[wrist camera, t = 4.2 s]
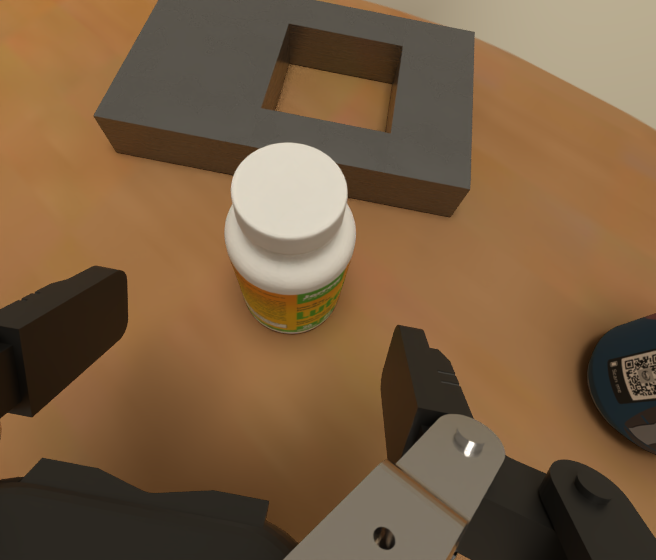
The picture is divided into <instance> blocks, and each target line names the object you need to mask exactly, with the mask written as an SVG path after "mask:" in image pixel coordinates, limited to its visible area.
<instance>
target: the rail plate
mask: <svg viewBox="0 0 656 560" xmlns="http://www.w3.org/2000/svg"><path fill="white" fill-rule="evenodd" d="M474 34H475V32H471V31H466V30H461V29H456V28H452V27H447V26H442V25H436V24H431V23H426V22H421V21H416V20H411V19H406V18H401V17H396V16H391V15H386V14H381V13H376V12H371V11H366V10H361V9H356V8H351V7H346V6H341V5H336V4H331V3H326V2H321V1H316V0H158V2H157V4H156V5H155V7H154V9H153V11H152V13H151V14H150V16H149V18H148V20H147V21H146V23H145V25H144V27H143V29H142V30H141V32H140V34H139V36H138V37H137V39H136V41H135V43H134V45H133V46H132V48H131V50H130V52H129V53H128V55H127V57H126V59H125V61H124V62H123V64H122V66H121V68H120V69H119V71H118V73H117V75H116V77H115V78H114V80H113V82H112V84H111V85H110V87H109V89H108V91H107V93H106V94H105V96H104V98H103V100H102V101H101V103H100V105H99V107H98V109H97V110H96V112H95V114H94V118H95V119H96V121H97V122H98V124H99V126H100V127H101V129H102V130H103V132H104V133H105V135H106V137H107V138H108V140H109V141H110V143H111V145H112V146H113V148H114V149H115V151H116V152H117V153H123V154H128V155H133V156H138V157H143V158H148V159H153V160H159V161H164V162H169V163H174V164H179V165H184V166H189V167H195V168H200V169H205V170H210V171H215V172H220V173H226V174H231V175H234V173H235V171H236V169H237V168H238V166H239V165H240V164H241V162H242V161H243V160H244V159H245V158H246V157H247V156H249V155H250V154H251V153H253V152H254V151H256V150H258V149H260V148H263V147H265V146H268V145H271V144H277V143H298V144H304V145H308V146H311V147H313V148H316V149H318V150H320V151H322V152H323V153H325V154H326V155H328V156H329V157H330V158H331V159H332V160H333V161H334V162H335V163H336V164H337V165H338V167H339V168H340V169H341V171H342V173H343V175H344V177H345V180H346V184H347V190H348V197H349V198H354V199H359V200H365V201H370V202H375V203H380V204H385V205H390V206H395V207H401V208H406V209H411V210H416V211H421V212H426V213H431V214H437V215H442V216H447V217H451V216H452V214H453V213H454V211H455V210H456V209H457V207H458V206H459V204H460V203H461V202H462V200H463V199H464V197H465V196H466V195H467V193H468V192H469V190H470V181H471V144H472V108H473V72H474ZM289 63H290V64H295V65H300V66H305V67H311V68H316V69H321V70H326V71H331V72H336V73H341V74H346V75H351V76H356V77H361V78H366V79H371V80H376V81H381V82H387V83H392V90H391V97H390V104H389V110H388V117H387V124H386V131H385V132H381V131H375V130H370V129H365V128H360V127H355V126H350V125H345V124H340V123H335V122H330V121H324V120H319V119H314V118H309V117H304V116H299V115H294V114H289V113H284V112H279V111H275V108H276V105H277V102H278V99H279V95H280V92H281V89H282V86H283V82H284V79H285V76H286V73H287V70H288V66H289Z"/></svg>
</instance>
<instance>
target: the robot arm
mask: <svg viewBox="0 0 656 560" xmlns="http://www.w3.org/2000/svg"><path fill="white" fill-rule="evenodd" d="M127 323H128V294H127V276H126V274H125V272H123V271H121V270H116V269H111V268H106V267H101V266H92V267H90V268H88V269H87V270H85V271H83V272H81V273H79V274H77V275H75V276H73V277H71V278H69V279H67V280H63V281H59V282H55V283H51V284H49V285H47V286H45V287H43V288H41V289H39V290H37V291H36V292H35V294H33V293H32V294H30V295H28V296H26V297H24V298H22V300H21V301H20V300H18V301H16V302H14V303H12V304H10V305H8V306H6V307H4V308H2V309H0V418H1V417H3V416H4V415H5V414H6V413H12V414H17V415H22V416H27V417H33V416H34V415H35V414H36V413H38V412H39V411H40V410H41V409H42V408H43V407H44V406H45V405H47V404H48V403H49V402H50V401H51V400H52V399H53V398H54V397H56V396H57V395H58V394H59V393H60V392H61V391H62V390H63V389H65V388H66V387H67V386H68V385H69V384H70V383H71V382H72V381H74V380H75V379H76V378H77V377H78V376H79V375H80V374H81V373H83V372H84V371H85V370H86V369H87V368H88V367H89V366H90V365H92V364H93V363H94V362H95V361H96V360H97V359H98V358H99V357H101V356H102V355H103V354H104V353H105V352H106V351H107V350H108V349H110V348H111V347H112V346H113V345H114V344H115V343H116V342H117V341H119V340H120V339H121V337H122V336H123V334H124V332H125V330H126V327H127ZM381 398H382V408H383V418H384V428H385V438H386V448H387V458H388V459H386V460H384V461H382V462H381V463H380V464H379V465H378V466H377V467H376V468H375V469H374V470H373V471H372V472H371V473H370V474H369V475H368V476H367V477H366V478H365V479H364V480H363V481H362V482H361V483H360V484H359V485H358V486H357V487H356V488H355V489H354V490H353V491H352V492H351V493H350V494H349V495H348V496H347V497H346V498H345V499H344V500H343V501H342V502H341V503H340V504H339V505H338V506H337V507H335V508H334V509H333V510H332V511H331V512H330V513H329V514H328V515H327V516H326V517H325V518H324V519H323V520H322V521H321V522H320V523H319V524H318V525H317V526H316V527H315V528H314V529H313V530H312V531H311V532H310V533H309V534H308V535H307V536H306V537H305V538H304V539H303V540H302V541H301V542H300V543H297V542H296V541H295V540H294V539H293V538H292V537H291V536H289V535H288V534H287V533H286V532H284V531H283V530H281V529H280V528H278V527H277V526H275V525H273V524H272V523H270V522H268V521H266V516H267V511H268V505H269V501H267V500H261V499H256V498H251V497H246V496H240V495H235V494H230V493H225V492H219V491H214V490H211V491H190V492H169V493H148V492H145V491H142V490H140V489H138V488H136V487H134V486H132V485H130V484H128V483H126V482H124V481H122V480H120V479H118V478H116V477H114V476H112V475H110V474H108V473H106V472H104V471H102V470H100V469H99V468H94V467H88V466H83V465H78V464H73V463H67V462H62V461H57V460H52V459H46V458H42V459H41V460H40V461H39V462H38V463H37V464H36V465H35V466H34V467H33V468H32V469H31V470H30V471H29V472H28V473H27V474H26V475H25V477H16V478H9V479H1V480H0V560H455V559H456V557H457V555H458V554H459V553H460V554H461V555H463V556H465V557H467V558H469V559H471V560H656V538H655V537H654V536H653V534H652V533H651V531H650V530H649V528H648V527H647V525H646V524H645V522H644V521H643V519H642V518H641V517H640V515H639V514H638V512H637V511H636V509H635V508H634V506H633V505H632V503H631V502H630V501H629V499H628V498H627V497H626V495H625V494H624V493H623V492H622V491H621V490H620V489H619V488H618V487H617V486H616V485H615V484H614V483H613V482H612V481H610V480H609V479H608V478H607V477H605V476H604V475H602V474H601V473H599V472H598V471H596V470H594V469H592V468H590V467H588V466H586V465H584V464H581V463H579V462H575V461H571V460H558V461H555V462H554V463H553V464H552V465H551V467H550V468H549V470H548V472H547V474H546V473H543V472H541V471H539V470H536V469H534V468H532V467H529V466H527V465H525V464H522V463H520V462H518V461H516V460H514V459H511V458H509V457H508V456H506V455H505V450H504V447H503V444H502V443H501V441H500V439H499V438H498V437H497V436H496V435H495V434H494V433H493V432H492V431H491V430H490V429H489V428H488V427H486V426H485V425H483V424H482V423H480V422H479V421H477V420H475V419H474V418H473V416H472V414H471V411H470V409H469V406H468V404H467V401H466V399H465V397H464V394H463V392H462V389H461V387H460V386H459V382H458V380H457V377H456V376H455V372H454V370H453V367H452V365H451V363H450V361H449V360H448V359H447V358H446V357H445V356H444V355H443V354H442V353H441V352H440V351H439V350H438V349H433V348H429V345H428V342H427V339H426V336H425V333H424V331H423V330H422V329H417V328H412V327H407V326H402V325H397V326H396V328H395V330H394V333H393V337H392V340H391V344H390V347H389V351H388V354H387V358H386V361H385V365H384V368H383V372H382V378H381ZM1 431H2V428H1V422H0V438H1Z"/></svg>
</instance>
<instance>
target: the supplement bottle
mask: <svg viewBox="0 0 656 560" xmlns="http://www.w3.org/2000/svg"><path fill="white" fill-rule="evenodd" d="M347 197H348V190H347V184H346V180H345V177H344V175H343V173H342V171H341V169H340V168H339V167H338V165H337V164H336V163H335V162H334V161H333V160H332V159H331V158H330V157H329V156H328V155H326V154H325V153H323V152H322V151H320V150H318V149H316V148H313V147H311V146H308V145H304V144H298V143H277V144H271V145H268V146H265V147H263V148H260V149H258V150H256V151H254V152H253V153H251V154H250V155H249V156H247V157H246V158H245V159H244V160H243V161H242V162H241V164H240V165H239V166H238V168H237V169H236V171H235V173H234V176H233V180H232V184H231V198H232V203H233V204H232V206H231V208H230V210H229V212H228V215H227V218H226V223H225V243H226V247H227V251H228V255H229V258H230V261H231V263H232V266H233V269H234V271H235V274H236V277H237V279H238V282H239V285H240V288H241V291H242V294H243V296H244V299H245V302H246V304H247V306H248V308H249V310H250V312H251V313H252V315H253V316H254V317H255V318H256V319H257V320H258V321H259V322H260V323H261V324H263V325H264V326H266V327H267V328H269V329H272V330H274V331H277V332H281V333H289V334H294V333H302V332H305V331H309V330H311V329H313V328H315V327H317V326H318V325H320V324H321V323H322V322H324V321H325V320H326V319H327V318H328V317H329V315H330V314H331V313H332V311H333V309H334V308H335V305H336V303H337V301H338V298H339V295H340V292H341V289H342V286H343V283H344V280H345V277H346V273H347V270H348V267H349V264H350V261H351V257H352V254H353V250H354V246H355V240H356V227H355V221H354V218H353V215H352V212H351V210H350V208H349V206H348V204H347Z"/></svg>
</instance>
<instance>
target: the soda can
mask: <svg viewBox="0 0 656 560" xmlns="http://www.w3.org/2000/svg"><path fill="white" fill-rule="evenodd" d="M587 381H588V387H589V391H590V394H591V397H592V399H593V401H594V403H595V405H596V407H597V409H598V410H599V412H600V413H601V415H602V416H603V417H604V418H605V420H606V421H607V422H608V423H609V424H610V425H611V426H612V427H614V428H615V429H616V430H617V431H618V432H620V433H621V434H622V435H624V436H625V437H626V438H627V439H629V440H630V441H632V442H633V443H635V444H636V445H638V446H639V447H641V448H643V449H645V450H647V451H649V452H651V453H653V454H656V313H655V314H652V315H649V316H646V317H643V318H640V319H637V320H634V321H631V322H628V323H626V324H623V325H620V326H617V327H615V328H613V329H611V330H610V331H608V332H607V333H606V334H605V335H604V336H603V337H602V338H601V339H600V341H599V342H598V343H597V345H596V347H595V349H594V351H593V354H592V356H591V359H590V361H589V365H588V370H587Z"/></svg>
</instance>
